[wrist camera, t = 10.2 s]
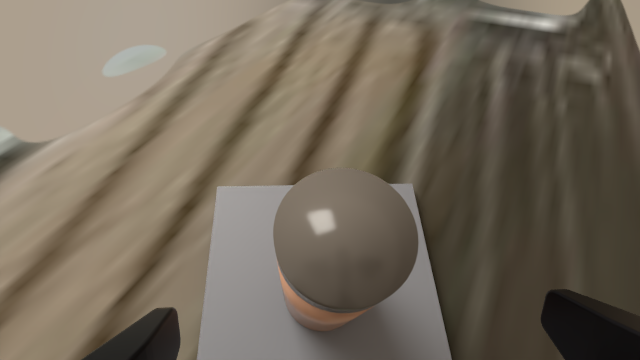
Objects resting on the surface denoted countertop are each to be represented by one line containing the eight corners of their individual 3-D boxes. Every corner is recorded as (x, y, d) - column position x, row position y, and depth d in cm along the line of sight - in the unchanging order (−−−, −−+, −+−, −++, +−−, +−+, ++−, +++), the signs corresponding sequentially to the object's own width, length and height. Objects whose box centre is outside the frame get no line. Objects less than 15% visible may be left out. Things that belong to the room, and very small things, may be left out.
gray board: (458, 417, 17) (465, 420, 16) (191, 439, 16) (187, 443, 15) (408, 188, 24) (412, 183, 23) (220, 191, 23) (217, 186, 22)
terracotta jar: (371, 320, 18) (441, 288, 10) (290, 340, 17) (286, 325, 9) (350, 242, 21) (391, 159, 12) (277, 257, 20) (263, 178, 11)
